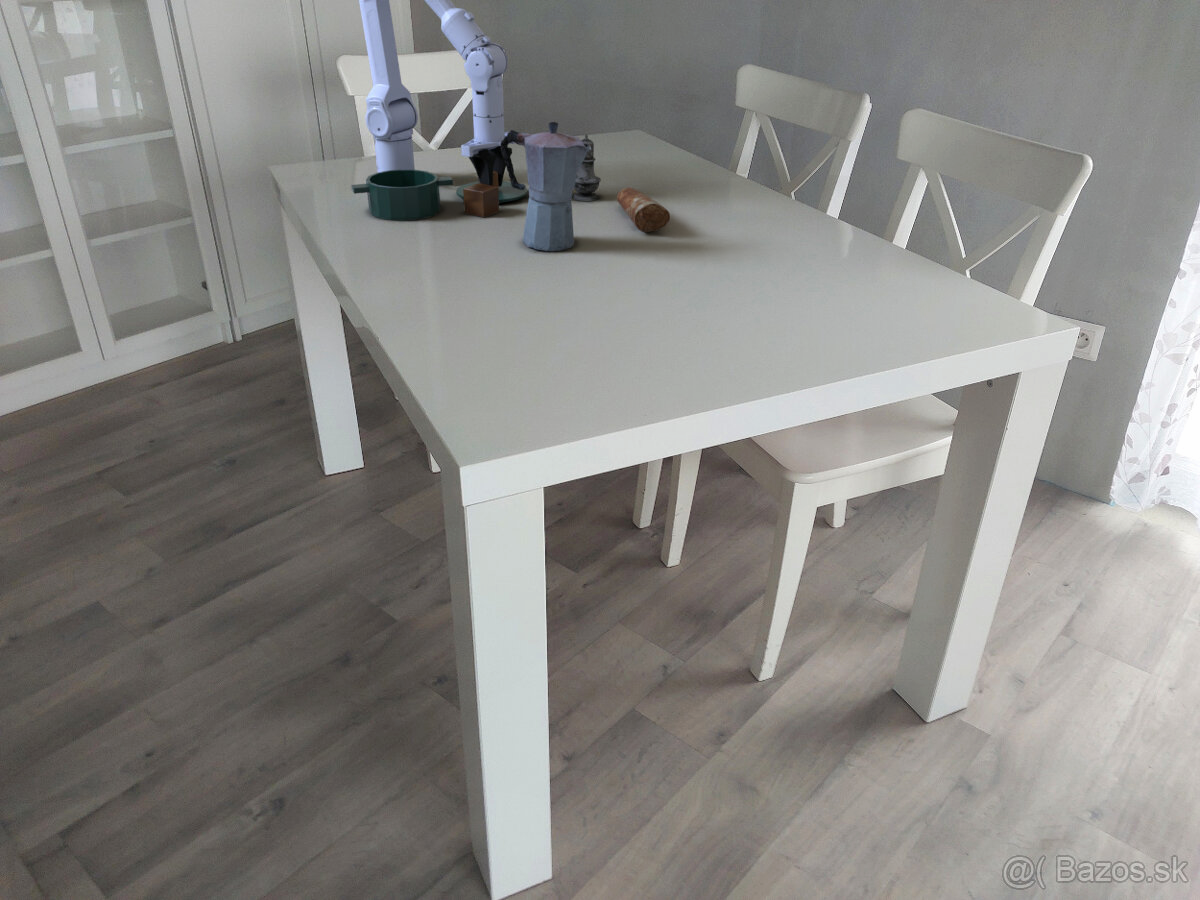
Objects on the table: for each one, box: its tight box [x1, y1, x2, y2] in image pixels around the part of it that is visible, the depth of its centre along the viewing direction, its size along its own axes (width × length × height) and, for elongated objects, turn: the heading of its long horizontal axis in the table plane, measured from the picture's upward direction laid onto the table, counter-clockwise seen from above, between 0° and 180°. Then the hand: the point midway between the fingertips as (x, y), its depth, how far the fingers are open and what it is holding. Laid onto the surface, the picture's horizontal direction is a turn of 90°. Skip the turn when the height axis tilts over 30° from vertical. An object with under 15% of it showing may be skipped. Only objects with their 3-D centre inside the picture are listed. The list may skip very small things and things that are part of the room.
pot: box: [351, 169, 454, 222], centre depth 172 cm, size 13×18×6 cm
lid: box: [455, 172, 528, 204], centre depth 182 cm, size 14×14×4 cm
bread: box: [616, 187, 671, 233], centre depth 170 cm, size 6×19×6 cm, turn 11°
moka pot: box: [500, 121, 592, 252], centre depth 153 cm, size 10×15×20 cm, turn 78°
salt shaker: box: [571, 133, 602, 202], centre depth 180 cm, size 6×6×12 cm
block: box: [463, 183, 500, 218], centre depth 172 cm, size 5×5×5 cm
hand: (491, 187), depth 182 cm, fingers closed on lid, 2 cm apart
